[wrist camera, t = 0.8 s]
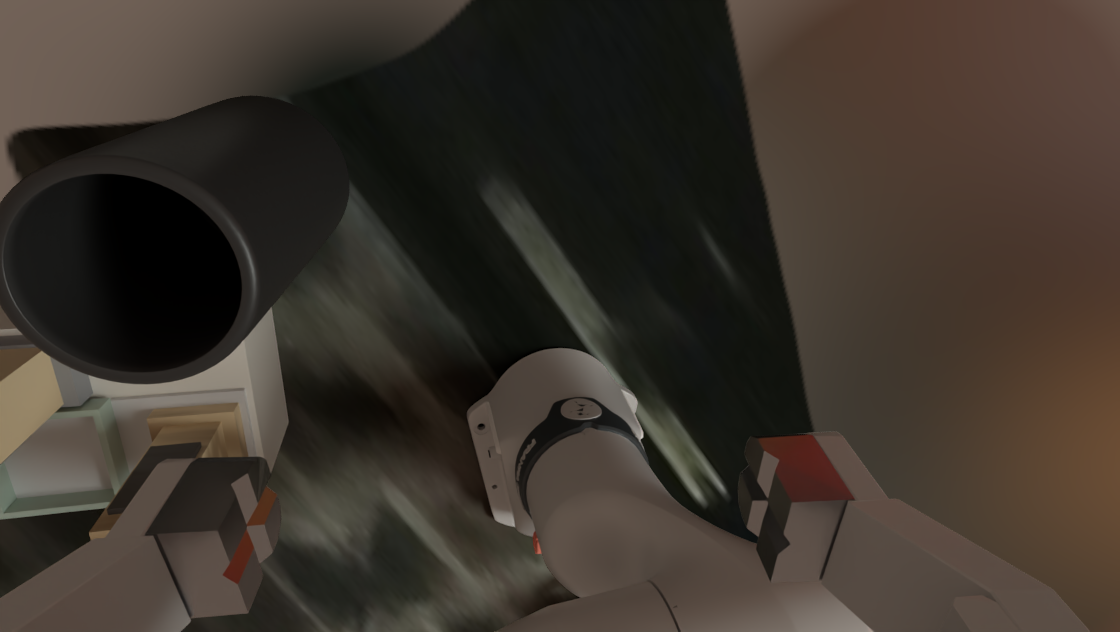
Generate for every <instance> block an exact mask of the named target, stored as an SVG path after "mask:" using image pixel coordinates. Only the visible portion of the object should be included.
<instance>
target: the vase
mask: <svg viewBox="0 0 1120 632" xmlns="http://www.w3.org/2000/svg"><path fill="white" fill-rule="evenodd" d="M348 197H349V175H348V170H347V166H346V162H345V159H344V157H343V154H342V152H341V150H340V148H339V146H338V145H337V143H336V141H335V140H334V138H333V137H332V136H331V134H330V133H329V132H328V131H327V130H326V128H325V127H324V126H323V125H322V124H321V123H319V122H318V121H317V120H316V119H315V118H314V117H312V116H311V115H310V114H308V113H307V112H305V111H304V110H302V109H300V108H298V107H296V106H294V105H292V104H290V103H287V102H285V101H282V100H278V99H275V98H270V97H263V96H241V97H235V98H230V99H226V100H223V101H220V102H217V103H214V104H211V105H208V106H205V107H202V108H199V109H197V110H194V111H191V112H189V113H186V114H183V115H180V116H177V117H175V118H172V119H169V120H167V121H164V122H161V123H158V124H156V125H153V126H150V127H147V128H144V129H142V130H139V131H136V132H133V133H131V134H128V135H125V136H123V137H120V138H117V139H114V140H112V141H109V142H106V143H103V144H101V145H98V146H95V147H92V148H90V149H87V150H84V151H81V152H79V153H76V154H73V155H70V156H68V157H65V158H63V159H60V160H58V161H56V162H54V163H51V164H49V165H46V166H44V167H42V168H40V169H38V170H36V171H34V172H32V173H31V174H30V175H28V176H27V177H25V178H24V179H22V180H21V181H20V182H19V183H18V184H17V185H15V186H14V187H13V188H12V189H11V191H10V192H9V193H8V194H7V195H6V197H4V199H3V200H2V201H1V203H0V306H1V308H2V309H3V311H4V312H5V314H6V315H7V317H8V318H9V320H10V321H11V322H12V323H13V324H14V326H15V327H16V328H17V329H18V330H19V331H20V332H21V333H22V334H23V335H24V336H25V337H26V338H27V339H28V340H29V341H30V342H31V343H32V344H33V345H35V346H36V347H37V348H38V349H40V350H41V351H43V352H44V353H45V354H47V355H48V356H50V357H51V358H53V359H55V360H56V361H58V362H60V363H62V364H64V365H66V366H68V367H70V368H72V369H74V370H76V371H79V372H81V373H84V374H87V375H90V376H93V377H96V378H100V379H104V380H108V381H113V382H119V383H127V384H160V383H167V382H173V381H178V380H182V379H185V378H188V377H191V376H194V375H197V374H199V373H201V372H204V371H206V370H208V369H209V368H211V367H213V366H215V365H216V364H218V363H219V362H221V361H222V360H224V359H225V358H226V357H227V356H229V355H230V354H231V353H232V352H233V351H234V350H235V349H236V348H237V347H238V346H239V345H240V344H241V342H242V341H243V340H244V339H245V338H246V337H247V336H248V335H249V334H250V333H251V331H252V330H253V329H254V328H255V327H256V325H257V324H258V323H259V321H260V320H261V319H262V318H263V317H264V315H265V314H266V313H267V312H268V311H269V309H270V308H271V307H272V306H273V305H274V303H275V302H276V301H277V300H278V299H279V297H280V296H281V295H282V294H283V292H284V291H285V290H286V289H287V288H288V286H289V285H290V284H291V283H292V281H293V280H294V279H295V278H296V277H297V275H298V274H299V273H300V272H301V270H302V269H303V268H304V267H305V266H306V264H307V263H308V262H309V261H310V260H311V258H312V257H313V256H314V255H315V253H316V252H317V251H318V250H319V249H320V247H321V246H322V245H323V244H324V242H325V241H326V240H327V239H328V237H329V236H330V235H331V234H332V232H333V231H334V230H335V228H336V227H337V225H338V224H339V222H340V220H341V219H342V216H343V214H344V212H345V209H346V206H347V202H348Z"/></svg>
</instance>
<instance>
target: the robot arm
mask: <svg viewBox="0 0 1120 632" xmlns="http://www.w3.org/2000/svg"><path fill="white" fill-rule="evenodd" d="M636 408H637V399H636V397H635V395H634V394H633V393H632V392H631V391H630V390H628V389H627V388H625V387H623V386H621V385H619V384H618V383H617V382H616V381H615V380H614V379H613V378H612V376H611V375H610V373H609V372H608V370H607V369H606V368H605V367H604V365H603V364H602V363H600V362H599V361H598V360H597V359H595V358H594V357H592V356H590V355H588V354H586V353H584V352H581V351H578V350H574V349H567V348H554V349H547V350H542V351H539V352H535V353H533V354H530V355H528V356H526V357H524V358H522V359H521V360H519V361H518V362H516V363H515V364H514V365H512V366H511V367H510V368H509V369H508V370H507V371H506V372H505V373H504V374H503V375H502V376H501V378H500V379H499V380H498V382H497V383H496V385H495V386H494V388H493V389H492V390H491V392H490V393H489V394H488V395H486V396H485V397H483V398H482V399H480V400H479V401H477V402H476V403H475V404H473V405H472V406H471V407H470V408H469V410H468V411H467V420H468V424H469V428H470V432H471V435H472V439H473V443H474V447H475V451H476V454H477V458H478V462H479V466H480V470H481V473H482V477H483V481H484V485H485V488H486V492H487V496H488V500H489V504H490V507H491V511H492V514H493V516H494V519H495V520H496V521H497V522H499V523H502V524H505V525H508V526H512V527H516V529H517V530H518V531H519V532H520V533H522V534H525V535H528V536H532V537H533V545H534V550H535V553H536V554H541V553H542V556H543V559H544V562H545V564H546V566H547V568H548V569H549V571H550V572H551V573H552V575H553V576H554V577H555V578H556V579H557V580H558V581H559V582H560V583H561V584H562V585H563V586H564V587H565V588H566V589H567V590H569V591H570V592H571V593H573V594H574V595H576V596H578V597H580V598H578V599H574V600H570V601H566V602H562V603H558V604H554V605H550V606H547V607H545V608H543V609H540V610H538V611H536V612H534V613H532V614H530V615H528V616H525V617H523V618H521V619H519V620H517V621H515V622H513V623H511V624H509V625H507V626H505V627H503V628H501V629H499V630H497V631H495V632H1090V631H1089V630H1088V629H1087V627H1086V626H1085V625H1084V624H1083V623H1082V622H1081V621H1080V619H1079V618H1078V617H1077V616H1076V615H1075V614H1074V613H1073V612H1072V610H1071V609H1070V608H1069V607H1068V606H1067V605H1066V604H1065V602H1064V601H1063V600H1062V599H1061V598H1060V597H1059V596H1058V594H1057V593H1056V592H1055V591H1054V590H1053V589H1052V588H1050V587H1048V586H1046V585H1045V584H1043V583H1041V582H1040V581H1038V580H1036V579H1035V578H1033V577H1031V576H1029V575H1028V574H1026V573H1024V572H1023V571H1021V570H1019V569H1017V568H1016V567H1014V566H1012V565H1010V564H1009V563H1007V562H1005V561H1003V560H1002V559H1000V558H998V557H997V556H995V555H993V554H992V553H990V552H988V551H986V550H985V549H983V548H981V547H980V546H978V545H976V544H974V543H973V542H971V541H969V540H967V539H966V538H964V537H962V536H961V535H959V534H957V533H955V532H954V531H952V530H950V529H949V528H947V527H945V526H943V525H942V524H940V523H938V522H936V521H935V520H933V519H931V518H930V517H928V516H926V515H925V514H923V513H921V512H919V511H918V510H916V509H914V508H913V507H911V506H909V505H907V504H905V503H904V502H902V501H900V500H899V499H888V497H887V496H886V495H885V493H884V492H883V491H882V489H881V488H880V486H879V485H878V484H877V482H876V481H875V480H874V478H873V477H872V476H871V474H870V473H869V471H868V470H867V469H866V467H865V466H864V464H863V463H862V462H861V461H860V459H859V458H858V456H857V455H856V454H855V452H854V451H853V450H852V448H851V447H850V445H849V444H848V443H847V441H846V440H845V439H844V437H843V436H842V435H841V434H839V433H838V432H836V431H832V432H815V433H807V434H787V435H766V436H751V437H750V438H749V440H748V442H747V444H746V449H745V453H744V454H745V456H746V459H747V461H748V463H749V466H748V467H746V468H745V469H744V470H743V471H742V472H741V473H740V478H739V484H738V499H739V506H740V510H741V514H742V517H743V520H744V522H745V525H746V527H747V528H748V529H749V530H750V531H752V532H753V533H754V534H756V535H757V536H758V537H759V538H758V542H757V544H755V543H752V542H750V541H747V540H744V539H742V538H740V537H737V536H735V535H733V534H730V533H728V532H726V531H724V530H722V529H720V528H718V527H716V526H714V525H712V524H710V523H709V522H707V521H705V520H703V519H701V518H700V517H698V516H696V515H695V514H693V513H692V512H690V511H689V510H687V509H686V508H684V507H683V506H682V505H680V504H679V503H678V502H677V501H676V500H675V499H674V498H673V497H672V496H671V495H670V494H669V493H668V492H667V490H666V489H665V488H664V486H663V485H662V484H661V482H660V481H659V480H658V478H657V477H656V476H655V474H654V473H653V471H652V470H651V468H650V467H649V463H648V458H647V456H646V453H645V450H644V447H643V445H642V443H641V441H640V440H641V439H642V438H643V431H642V429H641V426H640V424H639V422H638V420H637V418H636V416H635V412H636ZM481 423H482V424H484V426H483V427H478V425H479V424H481ZM270 476H271V472H270V469H269V466H268V463H267V460H266V459H264V458H262V457H208V458H198V459H196V458H188V459H166V460H164V461H162V462H160V463H159V464H157V466H156V467H155V468H154V470H153V471H152V472H151V474H150V475H149V477H148V478H147V480H146V481H145V482H144V484H143V485H142V487H141V488H140V489H139V491H138V492H137V494H136V495H135V496H134V498H133V499H132V501H131V502H130V503H129V505H128V506H127V508H126V509H125V510H124V512H123V513H122V515H121V516H120V517H119V519H118V520H117V522H116V523H115V524H114V526H113V527H112V529H111V530H110V531H109V533H108V534H107V536H106V537H105V538H95V539H93V540H91V541H90V542H88V543H87V544H85V545H83V546H82V547H80V548H79V549H77V550H75V551H74V552H72V553H71V554H69V555H68V556H66V557H64V558H63V559H61V560H60V561H58V562H57V563H55V564H53V565H52V566H50V567H49V568H47V569H45V570H44V571H42V572H41V573H39V574H38V575H36V576H34V577H33V578H31V579H30V580H28V581H26V582H25V583H23V584H22V585H20V586H19V587H17V588H15V589H14V590H12V591H11V592H9V593H7V594H6V595H4V596H3V597H1V598H0V632H181V631H182V630H183V629H184V628H185V627H186V626H187V625H188V624H189V623H190V622H191V619H190V618H199V617H210V616H222V615H233V614H245V613H249V610H250V608H251V605H252V603H253V600H254V598H255V595H256V593H257V591H258V588H259V586H260V583H261V581H262V578H263V573H262V570H261V567H260V563H261V562H262V561H263V560H264V559H266V558H267V557H268V556H269V555H270V554H272V553H273V551H274V548H275V545H276V543H277V540H278V537H279V531H280V524H281V509H280V503H279V499H278V496H277V494H276V493H275V492H273V491H272V490H271V489H269V488H268V487H267V486H266V485H267V483H268V481H269V479H270Z"/></svg>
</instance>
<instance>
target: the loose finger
mask: <svg viewBox="0 0 1120 632" xmlns="http://www.w3.org/2000/svg"><path fill="white" fill-rule="evenodd" d="M147 423H148V427H149V431H150V435H151V439H152V443H151V445H150V446H149V448H148V449H147V451H146V452H145V453H144V455H143V456H142V458H141V459H140V460H139V462H138V463H137V465H136V466H135V468H134V469H133V470H132V472H131V473H130V475H129V476H128V478H127V479H126V480H125V482H124V483H123V485H122V486H121V488H120V489H119V490H118V492H117V493H116V495H115V496H114V497H113V499H112V500H111V502H110V503H109V505H108V506H107V507H106V509H105V510H104V512H103V513H102V515H101V516H100V517H99V519H98V520H97V522H96V523H95V525H94V526H93V527H92V529H91V530H90V532H89V535H90V538H91V540H93V539H95V538H105V537H106V536H107V534H108V533H109V531H110V530H111V529H112V527H113V526H114V524H115V523H116V522H117V520H118V519H119V517H120V516H121V515H122V513H123V512H124V510H125V509H126V508H127V506H128V505H129V503H130V502H131V501H132V499H133V498H134V496H135V495H136V494H137V492H138V491H139V489H140V488H141V487H142V485H143V484H144V482H145V481H146V480H147V478H148V477H149V475H150V474H151V472H152V471H153V470H154V468H155V467H156V466H157V464H159V463H160V462H162V461H164V460H166V459H188V458H196V459H198V458H208V457H248V451H247V446H246V440H245V434H244V429H243V423H242V418H241V412H240V407H239V402H237V403H224V404H212V405H199V406H187V407H174V408H162V409H154V410H153V411H152V413H151V414H150V415H149V416H148V418H147Z"/></svg>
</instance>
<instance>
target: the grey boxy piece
mask: <svg viewBox="0 0 1120 632" xmlns="http://www.w3.org/2000/svg"><path fill="white" fill-rule="evenodd" d="M237 402H239V407H240V412H241V418H242V423H243V429H244V434H245V440H246V446H247V451H248V457H262V458H264V459H266V460H267V463H268V466H269V469H270V472H272V469H273V466H274V463H275V460H276V458H277V455H278V452H279V449H280V446H281V443H282V440H283V437H284V435H285V432H286V429H287V426H288V423H289V420H288V413H287V406H286V400H285V393H284V386H283V380H282V373H281V367H280V360H279V353H278V347H277V340H276V333H275V327H274V320H273V313H272V307H271V308H270V309H269V311H268V312H267V313H266V314H265V315H264V317H263V318H262V319H261V320H260V321H259V323H258V324H257V325H256V327H255V328H254V329H253V330H252V331H251V333H250V334H249V335H248V336H247V337H246V338H245V339H244V340H243V341H242V342H241V344H240V345H239V346H238V347H237V348H236V349H235V350H234V351H233V352H232V353H231V354H230V355H229V356H227V357H226V358H225V359H224V360H222V361H221V362H219V363H218V364H216V365H215V366H213V367H211V368H209V369H208V370H206V371H204V372H201V373H199V374H197V375H194V376H191V377H188V378H185V379H182V380H178V381H173V382H167V383H160V384H127V383H119V382H113V381H108V380H104V379H100V378H96V377H93V376H90V375H87V374H84V373H81V372H79V371H76V370H74V369H72V368H70V367H68V366H66V365H64V364H62V363H60V362H58V361H56V360H55V359H53V358H51V357H50V356H48V355H47V354H45V353H44V352H43V351H41V350H40V349H38V348H37V347H36V346H35V345H33V344H32V343H31V342H30V341H29V340H28V339H27V338H26V337H25V336H24V335H23V334H22V333H21V332H20V331H19V330H18V329H17V328H16V327H15V326H14V324H13V323H12V322H11V321H10V320H9V318H8V317H7V315H6V314H5V312H4V311H3V309H2V308H1V306H0V519H9V518H19V517H28V516H37V515H46V514H55V513H64V512H73V511H82V510H92V509H101V508H106V507H107V506H108V505H109V503H110V502H111V500H112V499H113V497H114V496H115V495H116V493H117V492H118V490H119V489H120V488H121V486H122V485H123V483H124V482H125V480H126V479H127V478H128V476H129V475H130V473H131V472H132V470H133V469H134V468H135V466H136V465H137V463H138V462H139V460H140V459H141V458H142V456H143V455H144V453H145V452H146V451H147V449H148V448H149V446H150V445H151V443H152V439H151V435H150V431H149V427H148V423H147V418H148V416H149V415H150V414H151V413H152V411H153V410H154V409H162V408H174V407H187V406H199V405H212V404H224V403H237Z"/></svg>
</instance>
